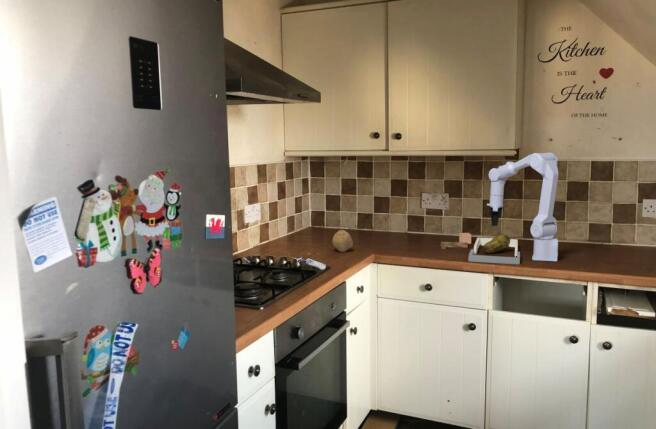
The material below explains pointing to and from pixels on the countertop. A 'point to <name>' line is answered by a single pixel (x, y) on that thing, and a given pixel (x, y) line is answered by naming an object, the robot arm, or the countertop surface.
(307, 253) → the countertop surface
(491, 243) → the potato
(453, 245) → the crook tool
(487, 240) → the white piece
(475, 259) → the frame
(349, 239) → the natural sponge
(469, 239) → the terracotta block
